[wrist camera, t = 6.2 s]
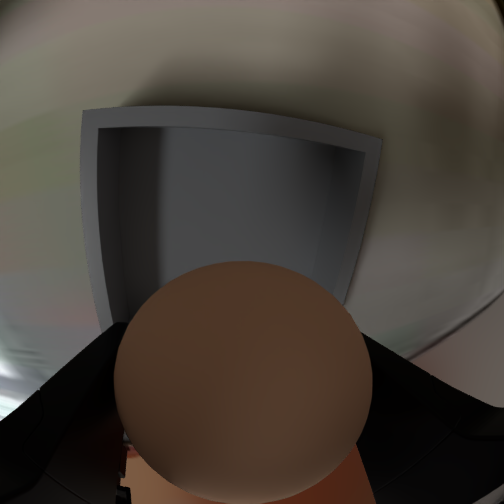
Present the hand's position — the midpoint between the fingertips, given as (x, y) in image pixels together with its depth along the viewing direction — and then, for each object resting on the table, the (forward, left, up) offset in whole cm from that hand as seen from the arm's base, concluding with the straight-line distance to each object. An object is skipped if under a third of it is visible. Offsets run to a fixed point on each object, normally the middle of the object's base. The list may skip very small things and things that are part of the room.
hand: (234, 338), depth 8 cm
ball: (0, 0, +2) cm, 2 cm away
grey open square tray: (0, 0, -8) cm, 8 cm away
